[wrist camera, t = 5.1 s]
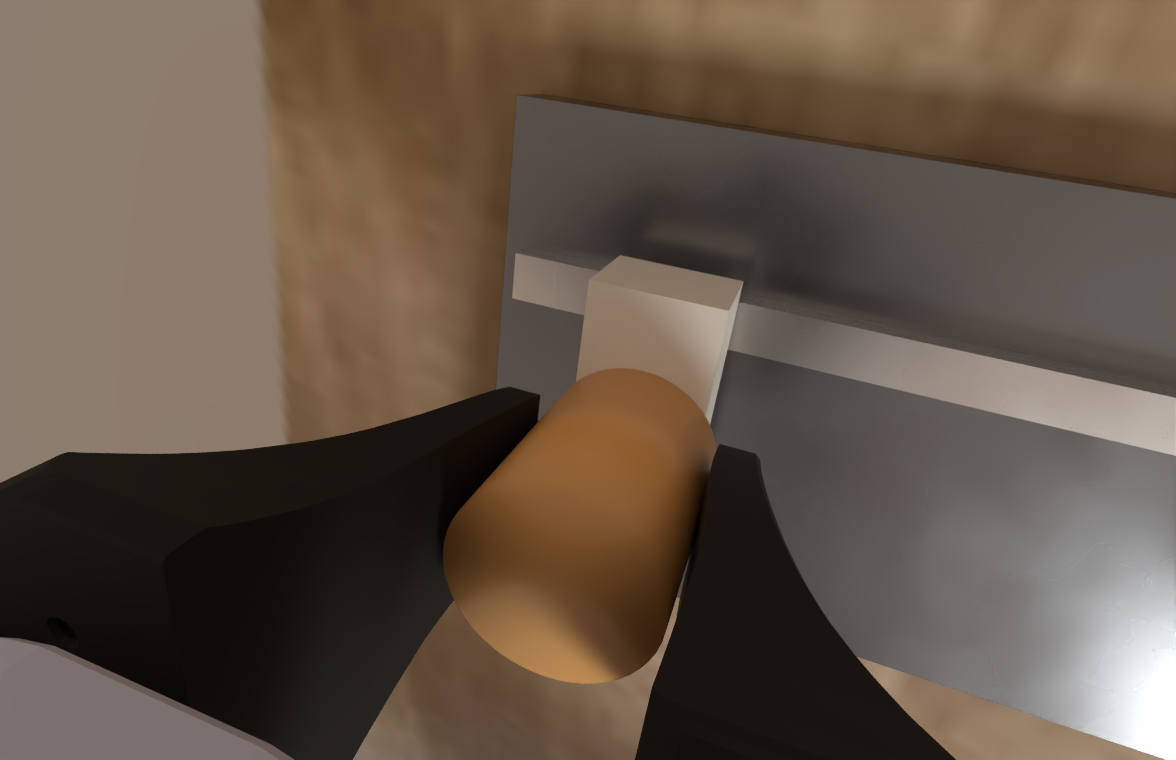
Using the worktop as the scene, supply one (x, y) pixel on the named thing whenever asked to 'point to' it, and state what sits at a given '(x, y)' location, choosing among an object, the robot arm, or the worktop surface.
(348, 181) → the worktop surface
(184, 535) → the robot arm
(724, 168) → the hole plate
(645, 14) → the worktop surface
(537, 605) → the block with orange knob
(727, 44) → the worktop surface
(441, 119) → the worktop surface
